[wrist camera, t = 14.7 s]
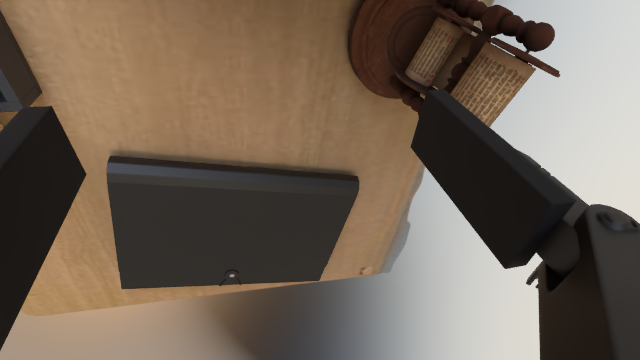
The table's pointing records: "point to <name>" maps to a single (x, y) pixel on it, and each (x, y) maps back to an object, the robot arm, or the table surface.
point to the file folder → (223, 222)
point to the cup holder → (14, 74)
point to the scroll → (445, 52)
